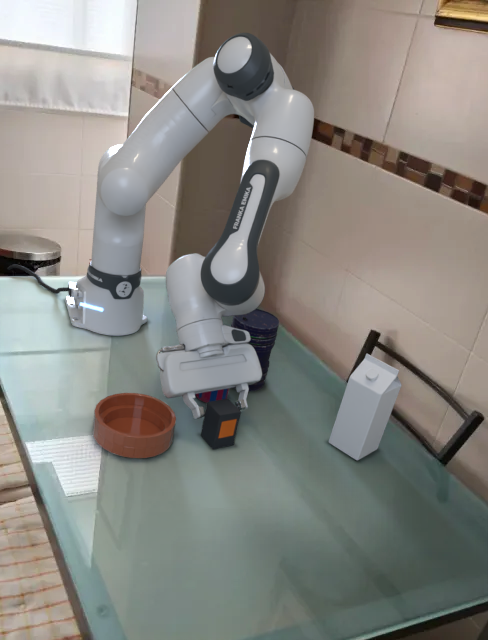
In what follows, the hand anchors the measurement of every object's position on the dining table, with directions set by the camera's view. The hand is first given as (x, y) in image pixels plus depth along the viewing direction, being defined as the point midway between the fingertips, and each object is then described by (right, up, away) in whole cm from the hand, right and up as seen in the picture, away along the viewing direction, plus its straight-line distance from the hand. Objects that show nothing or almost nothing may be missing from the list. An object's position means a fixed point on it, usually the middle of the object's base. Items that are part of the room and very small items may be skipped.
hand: (221, 413), depth 120 cm
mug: (-4, +4, +15) cm, 16 cm away
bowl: (-16, -4, -2) cm, 17 cm away
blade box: (-1, -5, +2) cm, 5 cm away
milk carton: (+26, -7, +8) cm, 28 cm away
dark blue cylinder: (+5, +8, +23) cm, 25 cm away
